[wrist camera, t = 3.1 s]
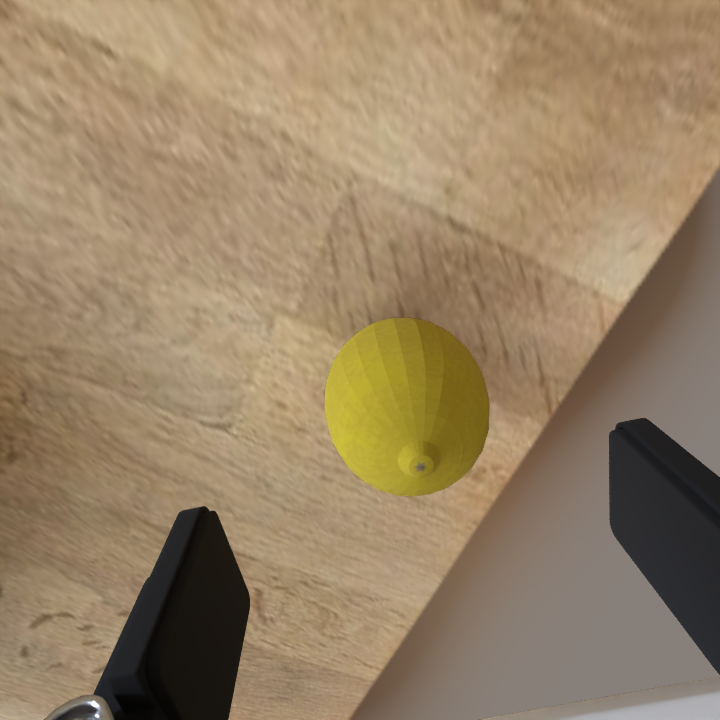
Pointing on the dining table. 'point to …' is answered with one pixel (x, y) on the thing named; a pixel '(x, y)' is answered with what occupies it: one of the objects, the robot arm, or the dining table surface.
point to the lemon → (407, 407)
